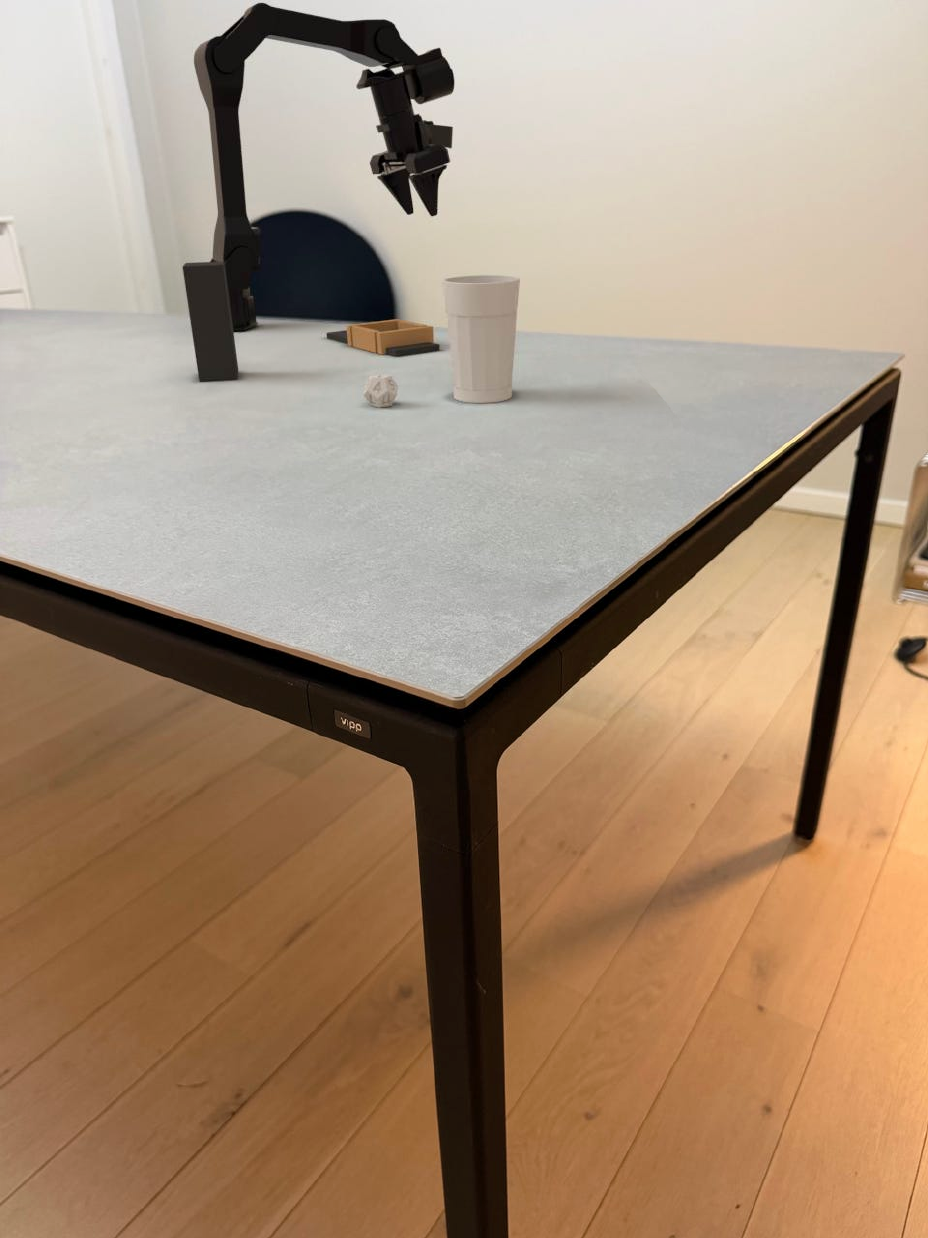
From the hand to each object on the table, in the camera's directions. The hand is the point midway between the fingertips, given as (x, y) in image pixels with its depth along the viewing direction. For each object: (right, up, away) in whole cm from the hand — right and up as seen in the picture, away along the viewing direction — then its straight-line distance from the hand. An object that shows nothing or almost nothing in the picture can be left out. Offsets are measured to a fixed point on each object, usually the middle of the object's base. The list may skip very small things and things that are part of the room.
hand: (422, 214), depth 155 cm
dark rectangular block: (-23, -39, -42) cm, 62 cm away
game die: (-2, -46, -58) cm, 74 cm away
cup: (+9, -44, -55) cm, 71 cm away
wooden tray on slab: (-5, -29, -24) cm, 38 cm away
